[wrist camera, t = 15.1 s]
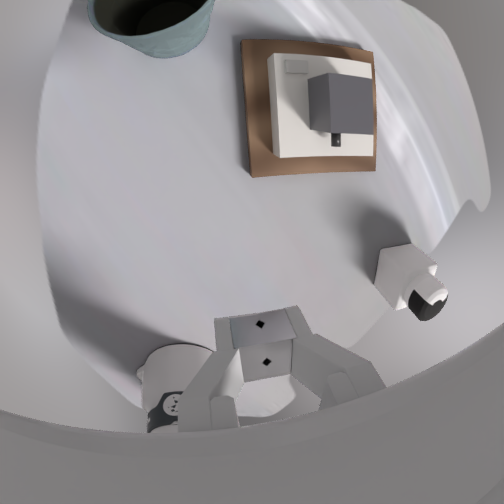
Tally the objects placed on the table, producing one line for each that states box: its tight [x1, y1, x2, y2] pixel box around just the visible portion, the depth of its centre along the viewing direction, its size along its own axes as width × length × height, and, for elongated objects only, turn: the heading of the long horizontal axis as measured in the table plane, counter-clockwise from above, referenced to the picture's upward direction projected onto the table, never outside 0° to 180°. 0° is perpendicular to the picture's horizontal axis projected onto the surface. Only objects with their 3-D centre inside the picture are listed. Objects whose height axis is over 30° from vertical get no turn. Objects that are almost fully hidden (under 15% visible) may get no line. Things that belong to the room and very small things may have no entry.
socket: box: [267, 53, 373, 158], centre depth 25 cm, size 11×11×4 cm
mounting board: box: [240, 39, 377, 178], centre depth 27 cm, size 16×16×2 cm
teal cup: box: [87, 0, 215, 58], centre depth 16 cm, size 10×10×12 cm
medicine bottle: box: [374, 243, 448, 321], centre depth 36 cm, size 7×7×12 cm
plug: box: [307, 73, 374, 147], centre depth 23 cm, size 7×4×6 cm, turn 4°
